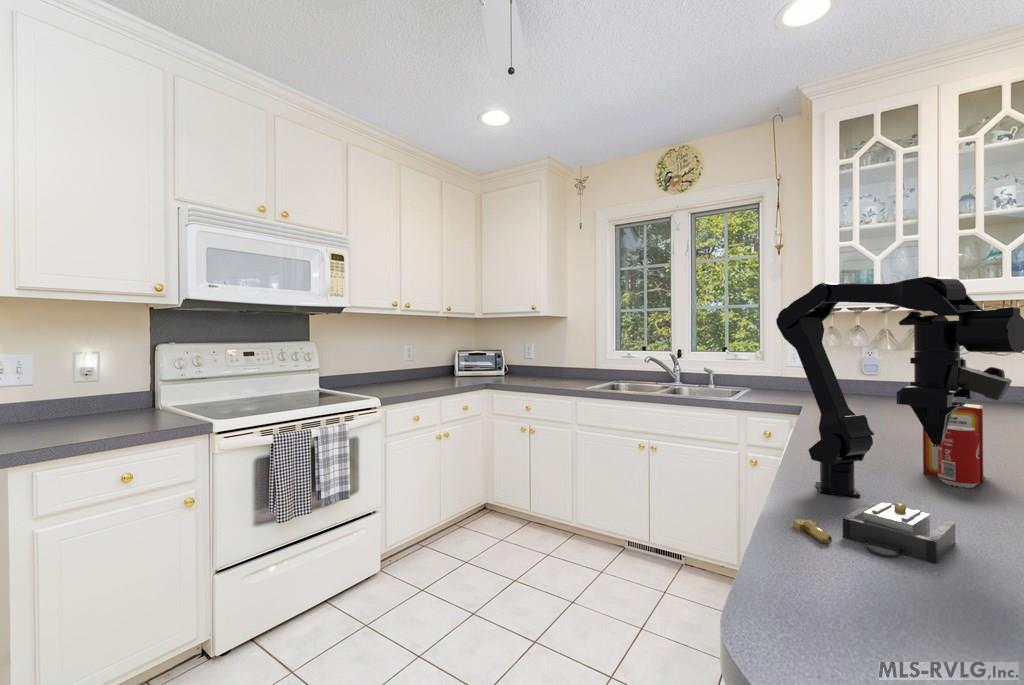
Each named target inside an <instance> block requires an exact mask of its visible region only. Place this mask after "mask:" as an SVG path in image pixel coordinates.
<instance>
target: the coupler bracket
mask: <svg viewBox="0 0 1024 685" xmlns="http://www.w3.org/2000/svg"><path fill="white" fill-rule="evenodd" d="M874 506H876V505H875V503H872V502H871V503H870V502H866V503H865V504H863V505H861V506H859V507H858V508H856V509H855V510H853V511H851V512H849V513H848V514H846V515H845V516H843V517H842V538H845V539H848V540H852V541H856V542H859V543H863V544H866V545H867V551H868V552H870V553H871V554H874V555H876V556H878V557H882V558H887V559H888V558H889V559H897V558H899V557H900V555H904V556H907V557H911V558H915V559H918V560H922V561H925V562H928V563H932V564H937V563H938V562H939V561H940V560H941V558H943V556H944V555H945V554H947V552H948V551H949V550H950V549H951V548H952V547H953V546H954V544H956V522H955V521H950V520H945V521H944V522H943V523H942V524H941V525H940V526H939V527H938V528H936V530H935V531H934V532H932V533H930V536H929V537H924V536H920V535H916V534H912V533H908V532H904V531H900V530H896V529H892V528H888V527H884V526H881V525H877V524H873V523H869V522H865V521H864V512H865V511H867V510H869V509H871V508H872V507H874Z"/></svg>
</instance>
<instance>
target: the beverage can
mask: <svg viewBox="0 0 1024 685" xmlns="http://www.w3.org/2000/svg"><path fill="white" fill-rule="evenodd" d="M974 430H975V429H974V428H972V427H967V426H959V425H948V428H947V431H946V434H945V437H944V440H943V443H942V444H941V445H938V476H937V477H938V479H939V480H940V481H942V483H943V484H946V485H948V486H951V485H953V486H952V487H956V486H958V487H957V488H963V487H964V489H965V488H966V489H967V488H969V489H972V488H975V486H977V485H979V484H980V483H981V482H980V469H979V435H978V434H977V433H976V432H975V431H974Z"/></svg>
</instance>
